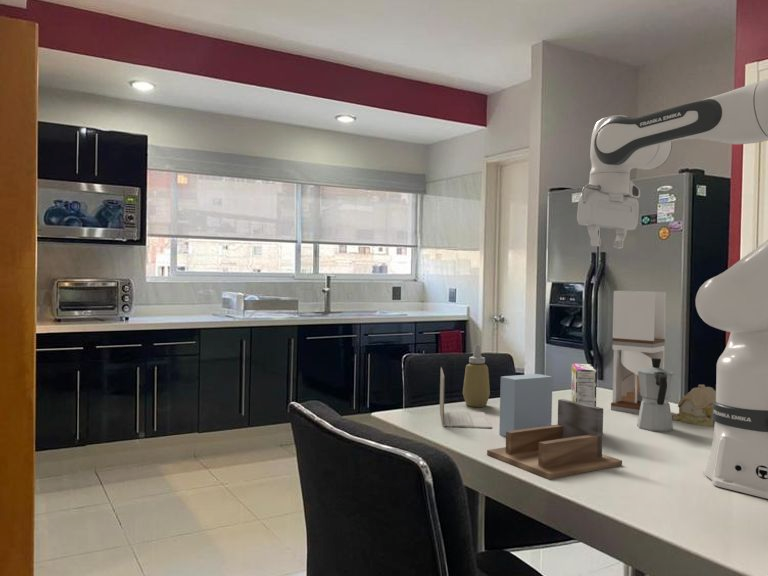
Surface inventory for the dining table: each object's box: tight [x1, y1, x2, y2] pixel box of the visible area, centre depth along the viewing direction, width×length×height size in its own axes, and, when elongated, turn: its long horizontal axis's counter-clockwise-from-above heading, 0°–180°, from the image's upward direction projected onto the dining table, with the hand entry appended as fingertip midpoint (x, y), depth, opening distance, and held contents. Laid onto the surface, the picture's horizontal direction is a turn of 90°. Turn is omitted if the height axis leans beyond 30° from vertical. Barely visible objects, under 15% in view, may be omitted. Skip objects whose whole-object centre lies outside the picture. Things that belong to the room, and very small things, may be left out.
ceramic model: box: [672, 384, 716, 426], centre depth 168 cm, size 14×11×10 cm
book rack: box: [486, 398, 623, 480], centre depth 126 cm, size 18×20×11 cm
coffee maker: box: [636, 358, 675, 433], centre depth 156 cm, size 15×9×18 cm, turn 168°
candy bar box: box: [570, 363, 598, 407], centre depth 150 cm, size 11×5×16 cm, turn 168°
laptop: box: [439, 367, 493, 429], centre depth 162 cm, size 18×12×13 cm
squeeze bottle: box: [462, 344, 491, 408], centre depth 182 cm, size 8×8×18 cm
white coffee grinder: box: [610, 290, 667, 415], centre depth 180 cm, size 11×11×35 cm
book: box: [498, 373, 553, 438], centre depth 148 cm, size 5×12×14 cm, turn 120°
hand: (607, 247), depth 143 cm, fingers open, 8 cm apart
